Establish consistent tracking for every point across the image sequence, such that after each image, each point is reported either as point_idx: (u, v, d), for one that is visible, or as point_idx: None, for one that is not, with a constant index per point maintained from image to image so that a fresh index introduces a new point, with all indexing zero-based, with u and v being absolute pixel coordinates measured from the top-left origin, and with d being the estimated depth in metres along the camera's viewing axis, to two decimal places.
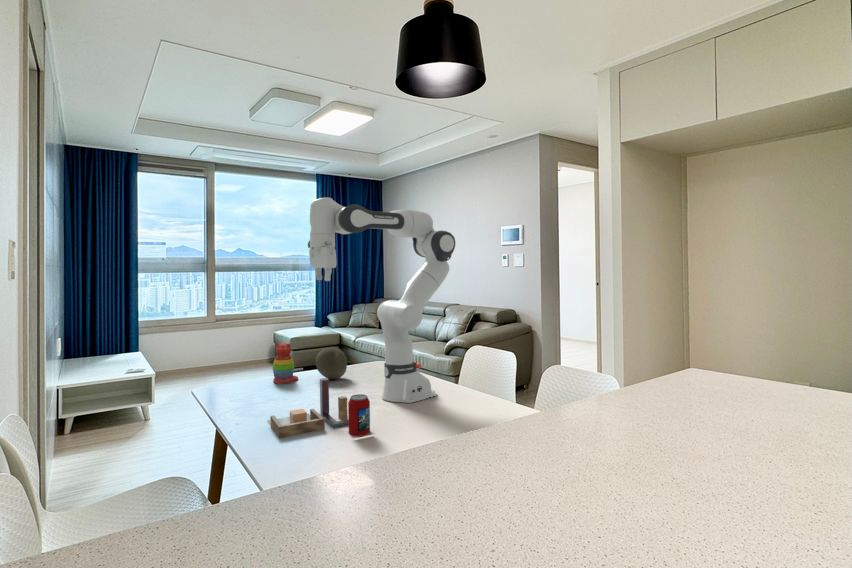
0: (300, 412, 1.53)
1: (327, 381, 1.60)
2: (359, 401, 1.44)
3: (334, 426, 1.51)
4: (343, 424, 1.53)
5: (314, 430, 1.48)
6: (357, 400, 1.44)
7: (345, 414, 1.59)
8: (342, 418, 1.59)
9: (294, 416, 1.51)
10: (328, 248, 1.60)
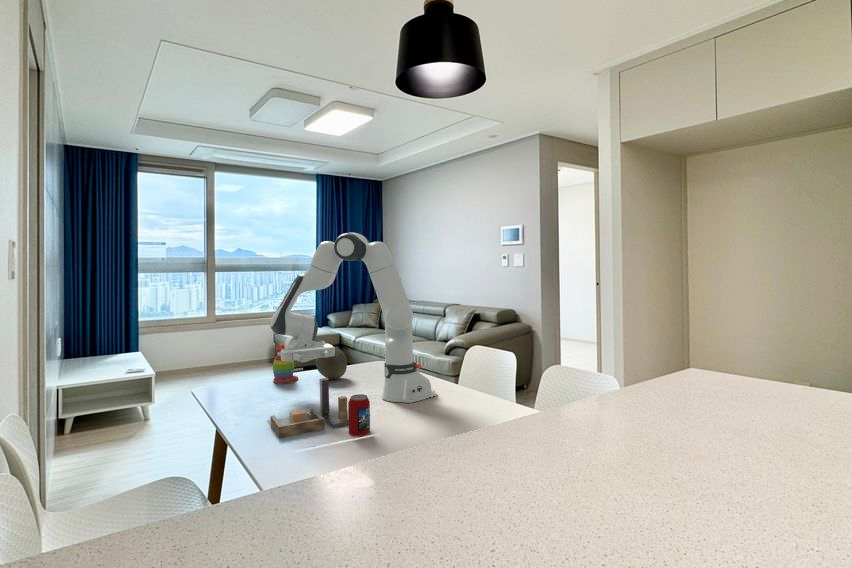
0: (300, 412, 1.53)
1: (327, 381, 1.60)
2: (359, 401, 1.44)
3: (334, 426, 1.51)
4: (343, 424, 1.53)
5: (314, 430, 1.48)
6: (357, 400, 1.44)
7: (345, 414, 1.59)
8: (342, 418, 1.59)
9: (294, 416, 1.51)
10: None
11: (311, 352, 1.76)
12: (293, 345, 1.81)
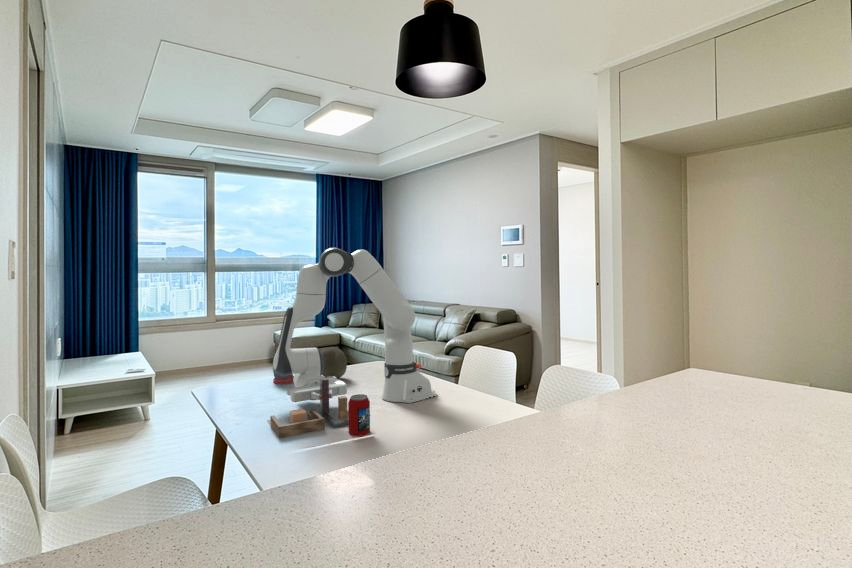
0: (300, 412, 1.53)
1: (327, 381, 1.60)
2: (359, 401, 1.44)
3: (334, 426, 1.51)
4: (343, 424, 1.53)
5: (314, 430, 1.48)
6: (357, 400, 1.44)
7: (345, 414, 1.59)
8: (342, 418, 1.59)
9: (294, 416, 1.51)
10: None
11: None
12: (303, 382, 1.71)
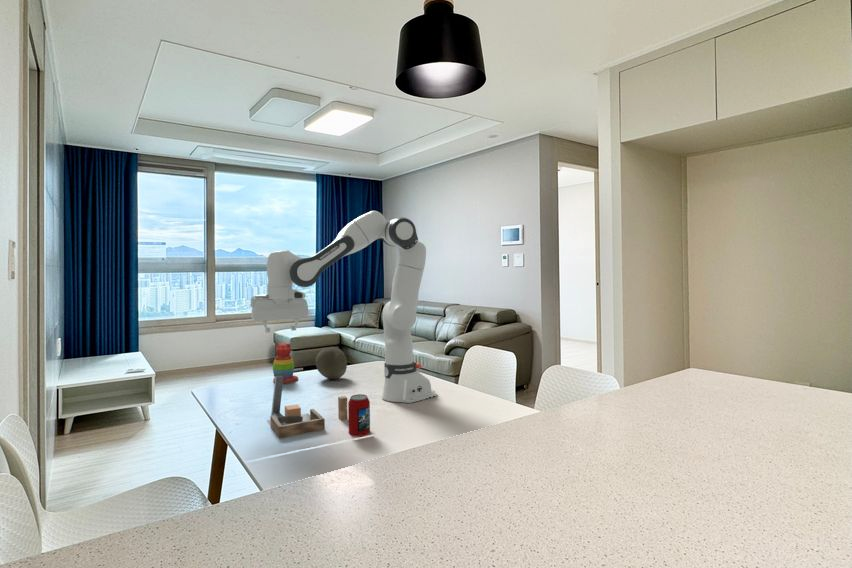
0: (294, 407, 1.58)
1: (282, 378, 1.64)
2: (359, 401, 1.44)
3: (279, 419, 1.52)
4: (289, 419, 1.54)
5: (314, 430, 1.48)
6: (357, 400, 1.44)
7: (345, 414, 1.59)
8: (342, 418, 1.59)
9: (288, 411, 1.56)
10: None
11: None
12: (271, 294, 1.68)
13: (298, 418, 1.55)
